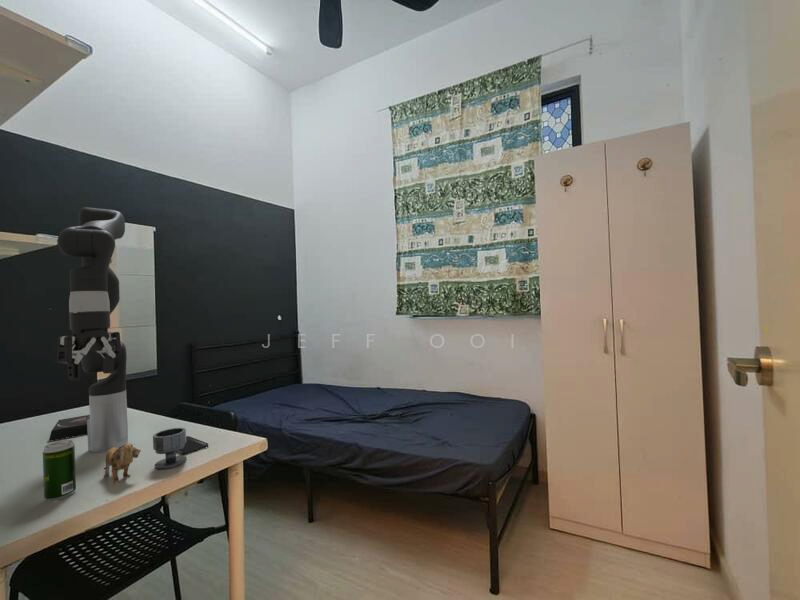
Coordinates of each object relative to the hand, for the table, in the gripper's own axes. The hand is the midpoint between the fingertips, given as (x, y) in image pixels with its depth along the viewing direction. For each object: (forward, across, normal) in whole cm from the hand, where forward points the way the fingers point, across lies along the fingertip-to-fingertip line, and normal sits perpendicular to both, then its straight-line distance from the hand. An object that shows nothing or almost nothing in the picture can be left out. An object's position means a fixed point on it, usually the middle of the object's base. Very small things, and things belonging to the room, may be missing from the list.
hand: (92, 376), depth 88 cm
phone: (+27, -24, +5) cm, 37 cm away
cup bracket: (+27, -12, +10) cm, 31 cm away
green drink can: (+27, +4, -5) cm, 28 cm away
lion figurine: (+27, -5, +1) cm, 27 cm away
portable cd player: (+27, -43, -48) cm, 70 cm away
